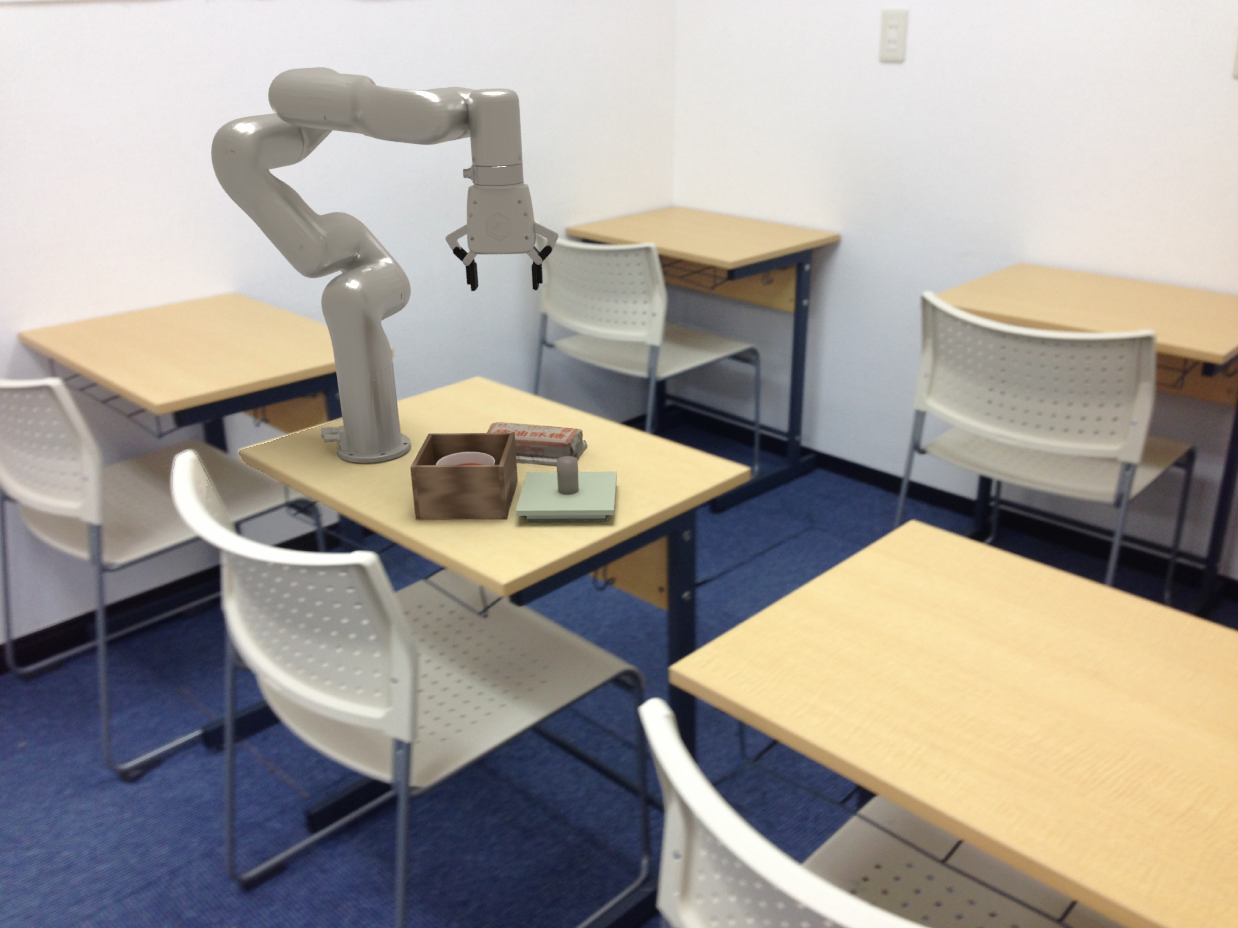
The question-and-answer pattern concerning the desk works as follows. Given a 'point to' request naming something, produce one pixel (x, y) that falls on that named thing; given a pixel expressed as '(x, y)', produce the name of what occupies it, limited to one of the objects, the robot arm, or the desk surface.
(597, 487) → the lid
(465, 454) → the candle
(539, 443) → the packaged product
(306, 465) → the desk surface
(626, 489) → the desk surface
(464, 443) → the box
